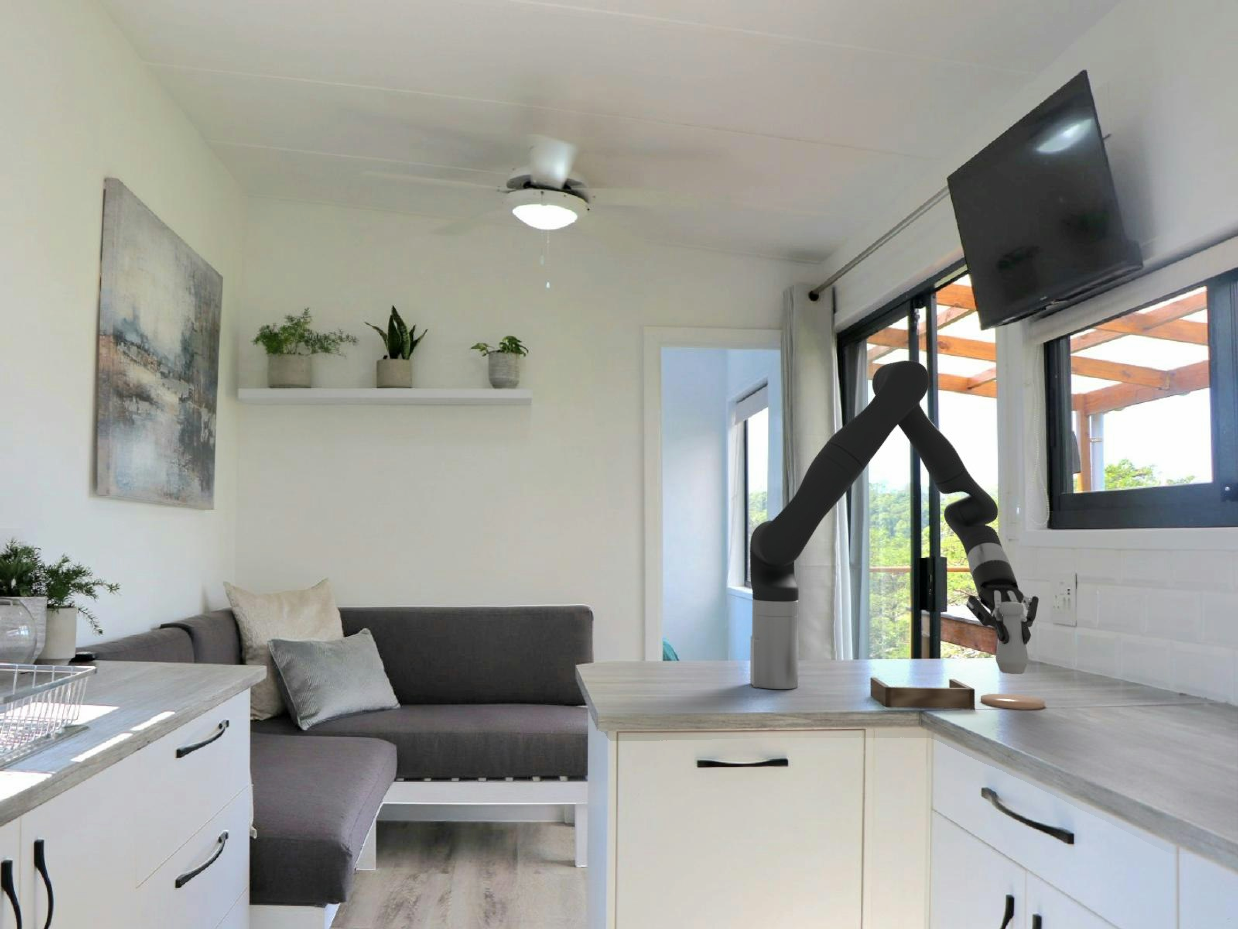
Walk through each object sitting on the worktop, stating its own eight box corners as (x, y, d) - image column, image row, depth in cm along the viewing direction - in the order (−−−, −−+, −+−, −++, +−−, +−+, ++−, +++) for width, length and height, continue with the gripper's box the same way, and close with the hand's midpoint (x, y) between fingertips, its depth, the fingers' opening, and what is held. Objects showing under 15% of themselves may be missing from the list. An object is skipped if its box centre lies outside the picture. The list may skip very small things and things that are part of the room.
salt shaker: (1014, 669, 181) (1013, 600, 182) (1036, 674, 175) (1035, 603, 176) (988, 670, 179) (987, 601, 180) (1010, 675, 174) (1009, 603, 174)
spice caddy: (885, 707, 171) (885, 687, 172) (870, 696, 182) (870, 677, 183) (974, 709, 171) (974, 689, 171) (954, 697, 182) (954, 679, 182)
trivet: (993, 708, 171) (993, 704, 171) (972, 697, 182) (972, 693, 182) (1055, 710, 171) (1055, 705, 171) (1030, 698, 182) (1029, 694, 182)
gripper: (959, 558, 186) (982, 628, 173) (1032, 558, 186) (1060, 629, 173) (951, 583, 191) (973, 653, 178) (1021, 584, 191) (1048, 654, 178)
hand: (1016, 641), depth 176 cm, fingers closed on salt shaker, 3 cm apart
